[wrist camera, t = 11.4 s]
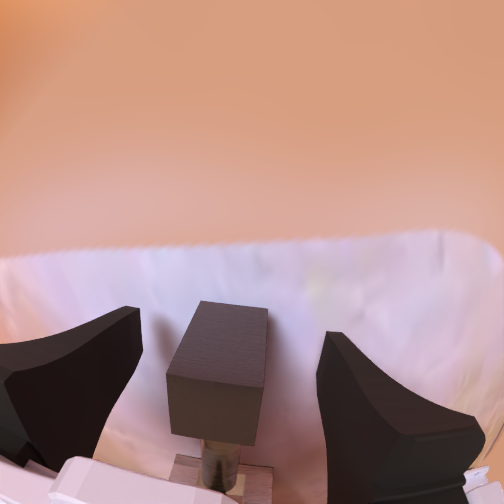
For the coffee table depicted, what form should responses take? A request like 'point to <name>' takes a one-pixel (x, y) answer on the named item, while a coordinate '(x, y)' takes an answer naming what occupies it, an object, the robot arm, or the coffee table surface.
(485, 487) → the robot arm
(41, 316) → the coffee table surface
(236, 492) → the square metal collar
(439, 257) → the coffee table surface
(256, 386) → the square dumbbell
